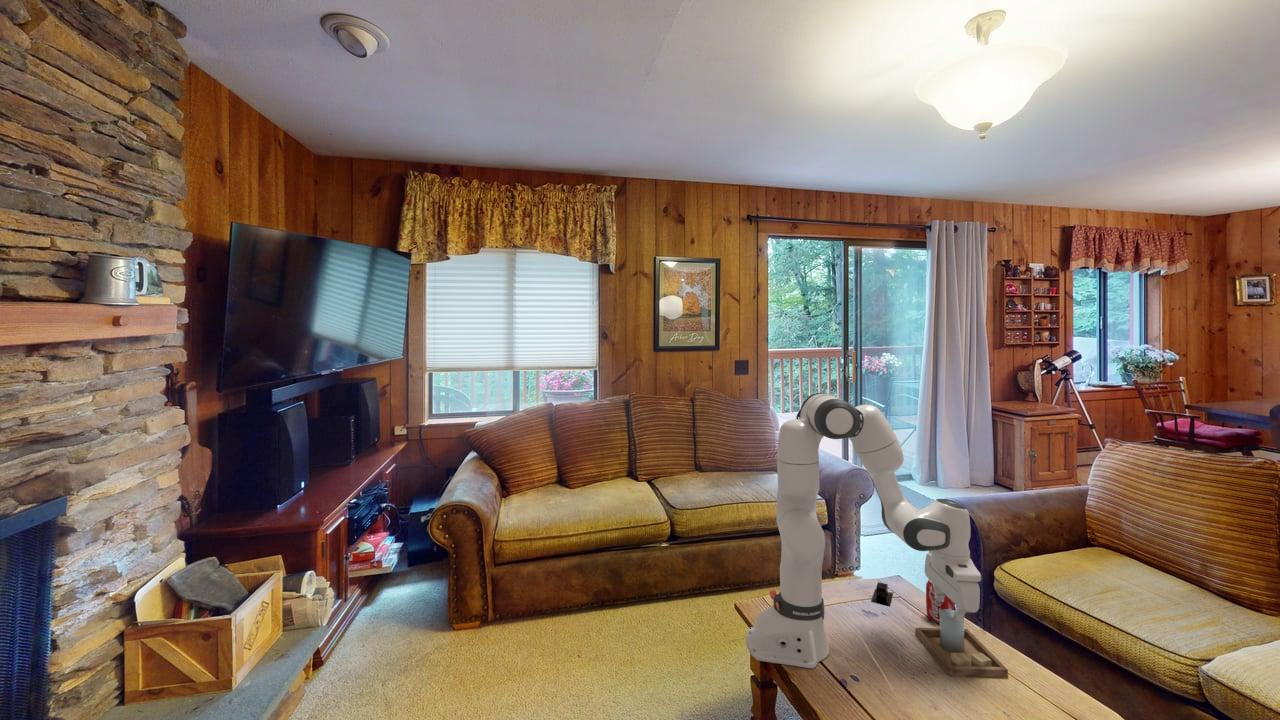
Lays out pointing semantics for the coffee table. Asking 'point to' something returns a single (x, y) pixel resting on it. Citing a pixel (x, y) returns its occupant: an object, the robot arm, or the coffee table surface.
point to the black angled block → (882, 595)
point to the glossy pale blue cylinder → (951, 632)
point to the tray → (971, 646)
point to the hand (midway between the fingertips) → (948, 609)
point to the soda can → (935, 603)
